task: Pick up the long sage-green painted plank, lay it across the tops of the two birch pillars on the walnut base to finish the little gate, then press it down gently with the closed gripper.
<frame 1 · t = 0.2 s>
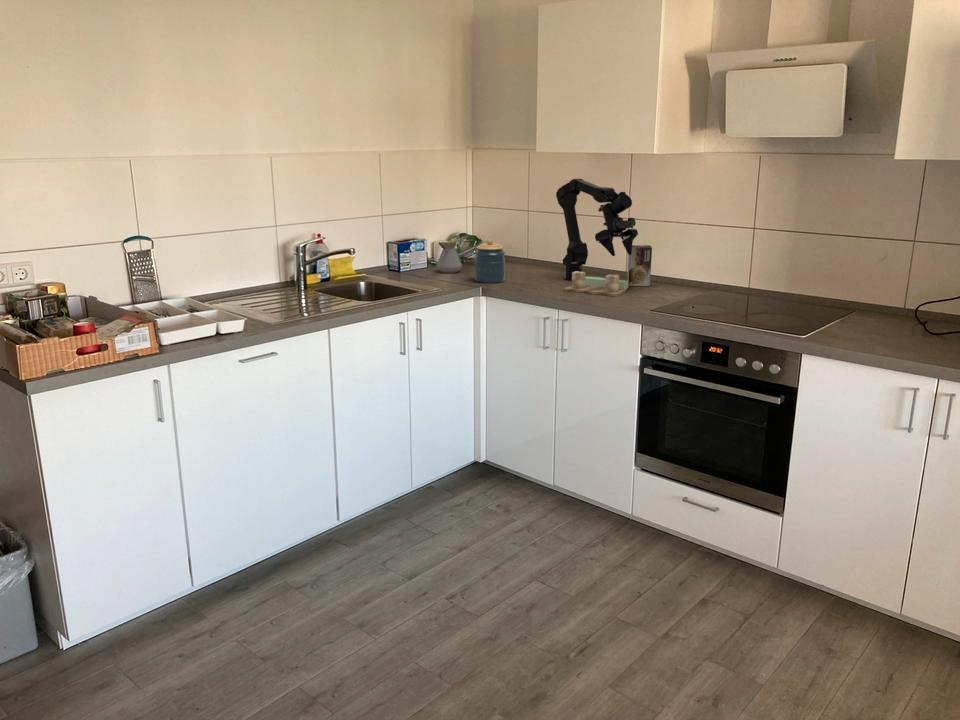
hand: (622, 255, 301), 14 cm above the worktop, tool tilted 30°, fingers open, 9 cm apart
coffee box: (638, 285, 317), on the worktop
sage plank: (605, 287, 313), on the worktop
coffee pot: (446, 274, 341), on the worktop
canister: (489, 281, 325), on the worktop
birch gate: (594, 291, 303), on the worktop
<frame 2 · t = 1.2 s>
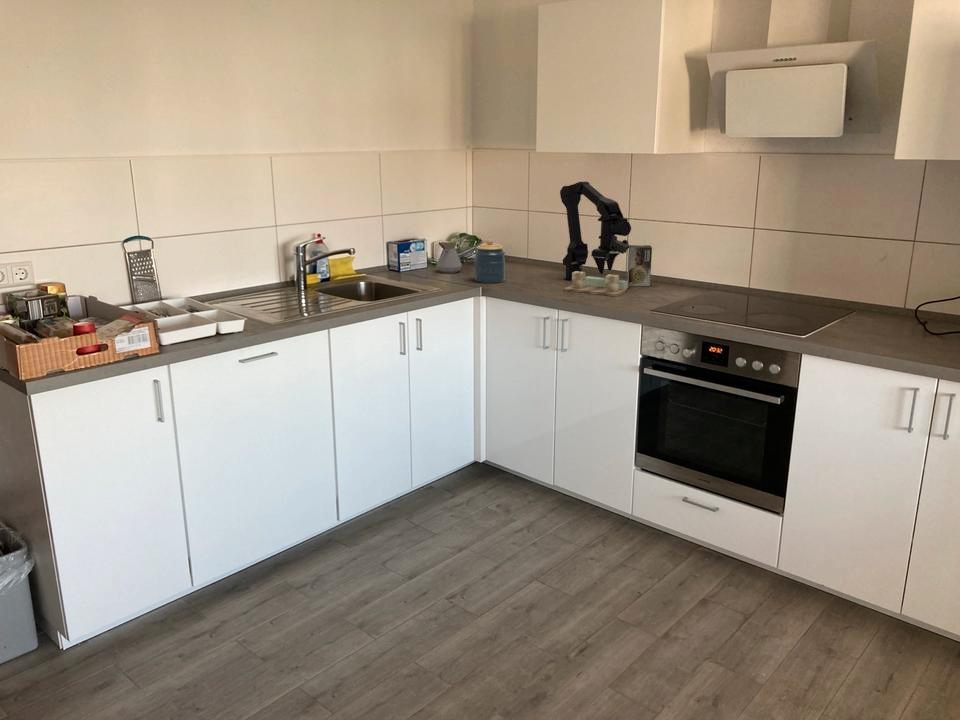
hand: (605, 272, 311), 6 cm above the worktop, tool pointing down, fingers open, 9 cm apart
nothing on the worktop moved.
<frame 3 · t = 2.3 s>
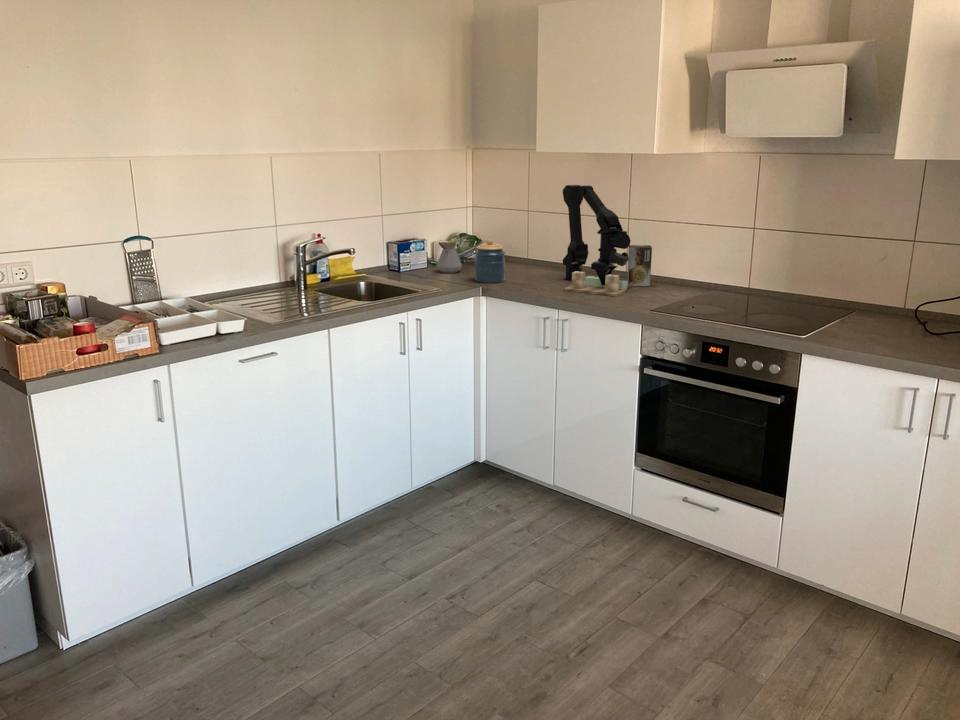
hand: (605, 284, 312), 1 cm above the worktop, tool pointing down, fingers closed on sage plank, 4 cm apart
sage plank: (605, 287, 313), on the worktop, touching gripper
everything else where it was.
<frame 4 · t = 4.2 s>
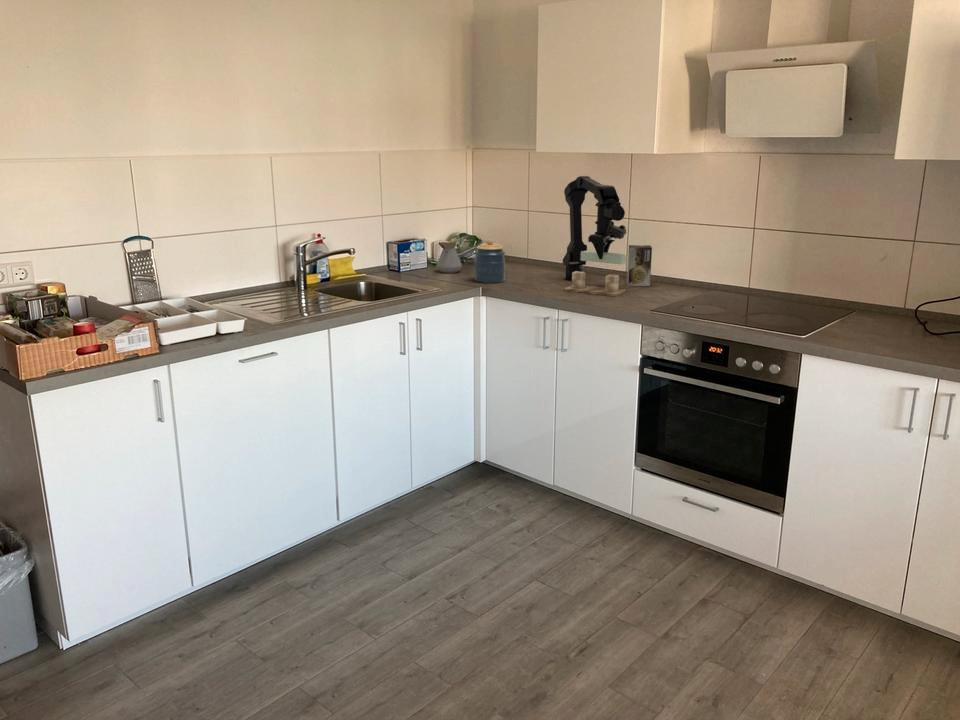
hand: (602, 258, 304), 12 cm above the worktop, tool pointing down, fingers closed on sage plank, 4 cm apart
sage plank: (602, 261, 305), point 11 cm above the worktop, touching gripper
everything else where it was.
when the fingers open (9 cm above the worktop, at t = 5.4 s): sage plank drops 1 cm, resting on birch gate.
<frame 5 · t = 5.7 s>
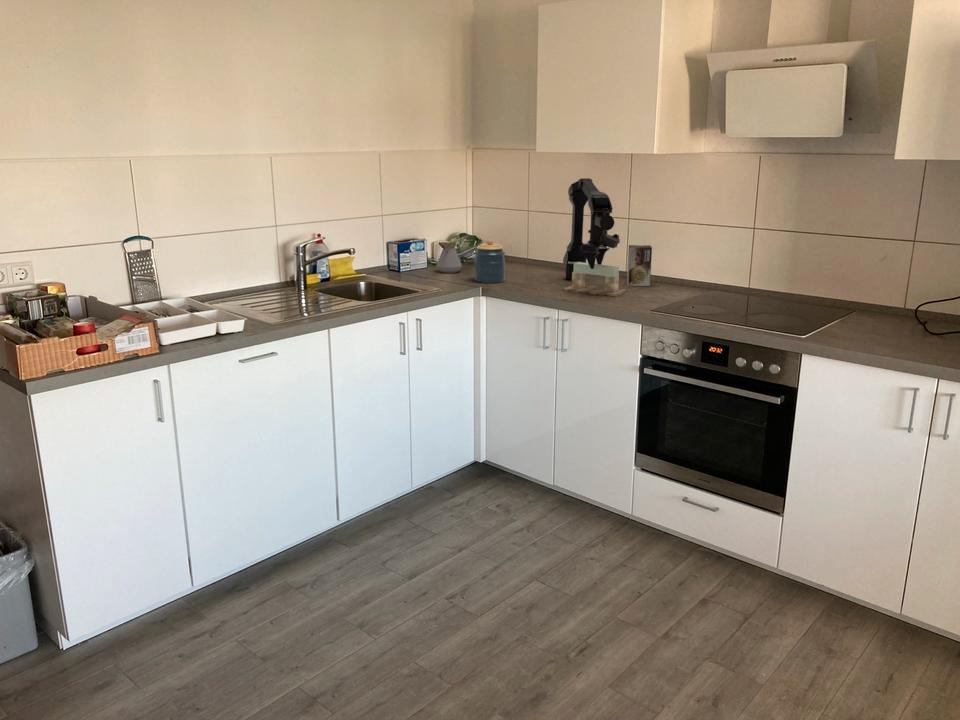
hand: (595, 267, 300), 9 cm above the worktop, tool pointing down, fingers open, 7 cm apart
sage plank: (595, 273, 301), point 7 cm above the worktop, touching birch gate
everything else where it was.
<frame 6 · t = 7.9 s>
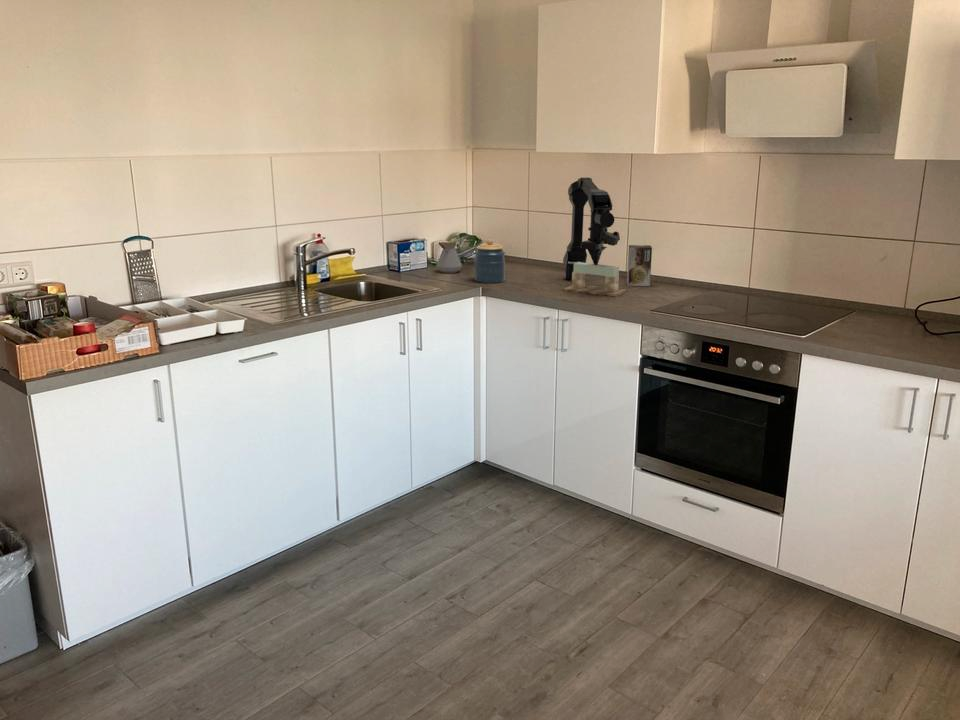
hand: (595, 265, 300), 10 cm above the worktop, tool pointing down, fingers closed, pressing on sage plank
sage plank: (595, 273, 301), point 7 cm above the worktop, touching birch gate, gripper
everything else where it was.
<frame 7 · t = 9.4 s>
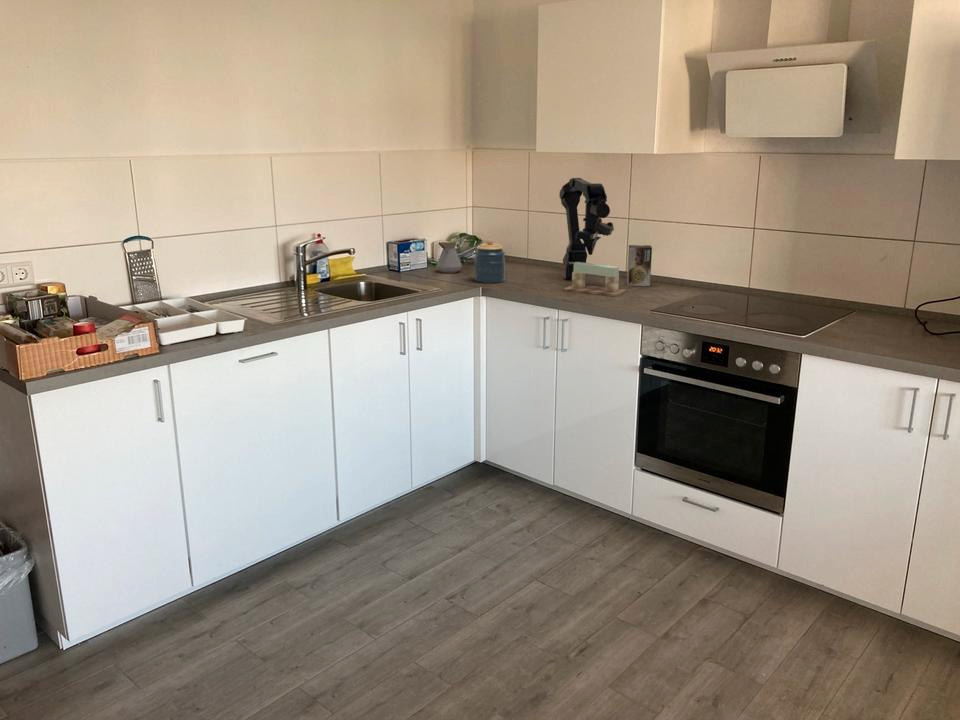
hand: (590, 254, 310), 13 cm above the worktop, tool pointing down, fingers closed
sage plank: (595, 273, 301), point 7 cm above the worktop, touching birch gate
everything else where it was.
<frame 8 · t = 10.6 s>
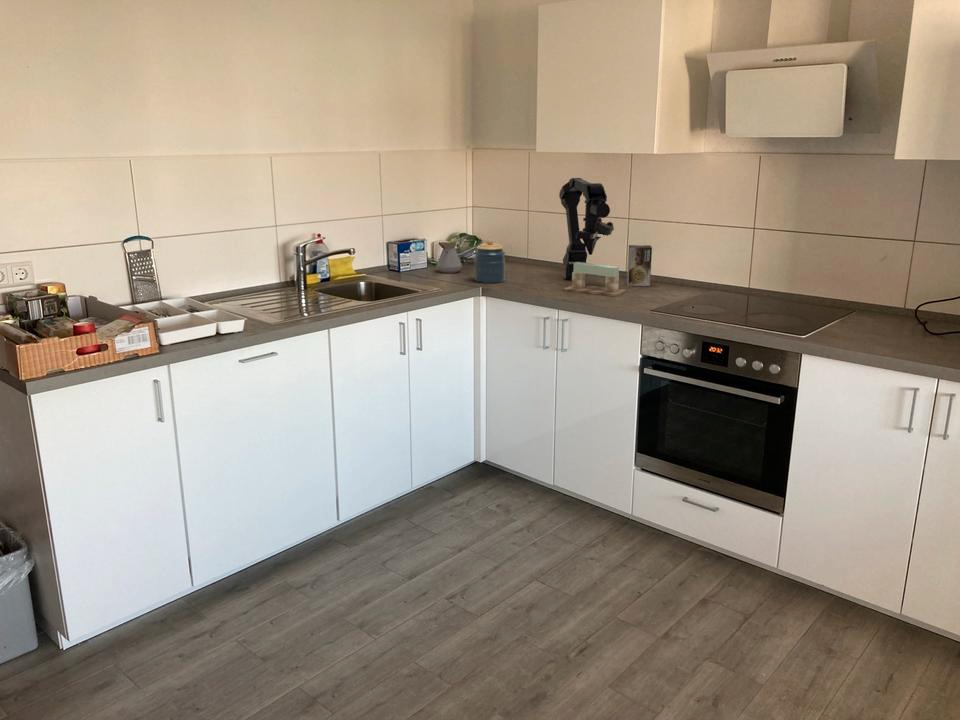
hand: (590, 254, 310), 13 cm above the worktop, tool pointing down, fingers closed
nothing on the worktop moved.
at the end: sage plank 0.1 cm off-centre on the birch gate, point 7.0 cm above the birch gate's base; sage plank tilted 0°; sage plank touching birch gate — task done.
